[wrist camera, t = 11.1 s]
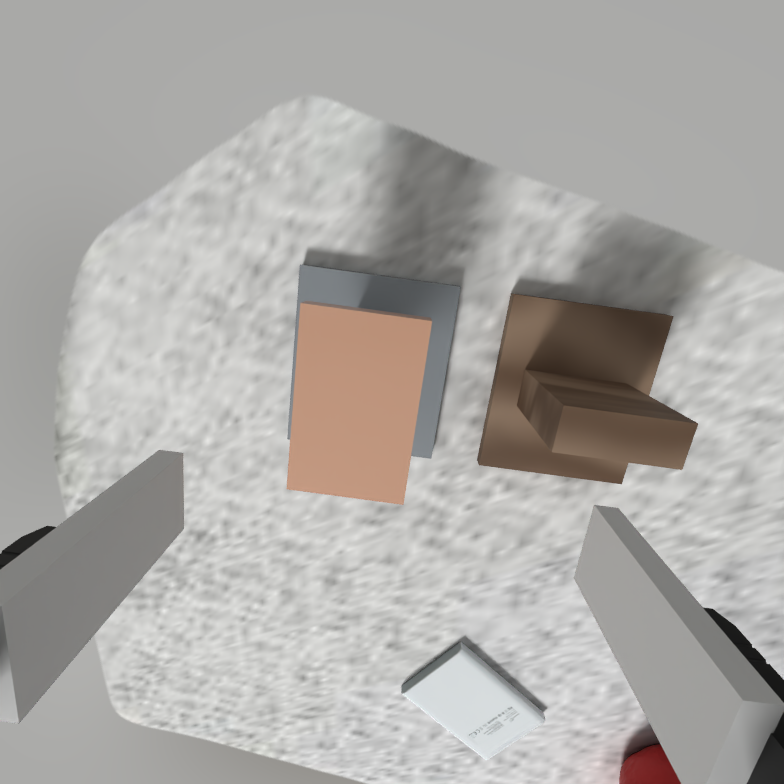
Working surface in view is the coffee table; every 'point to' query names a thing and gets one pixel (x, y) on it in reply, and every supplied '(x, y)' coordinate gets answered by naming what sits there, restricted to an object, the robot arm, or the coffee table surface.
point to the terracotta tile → (356, 400)
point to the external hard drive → (473, 702)
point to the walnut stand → (580, 393)
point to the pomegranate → (648, 768)
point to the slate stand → (397, 299)
